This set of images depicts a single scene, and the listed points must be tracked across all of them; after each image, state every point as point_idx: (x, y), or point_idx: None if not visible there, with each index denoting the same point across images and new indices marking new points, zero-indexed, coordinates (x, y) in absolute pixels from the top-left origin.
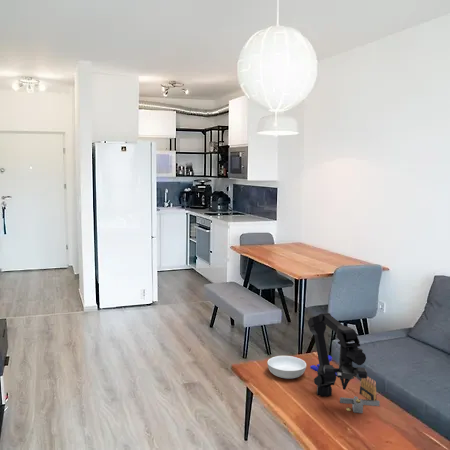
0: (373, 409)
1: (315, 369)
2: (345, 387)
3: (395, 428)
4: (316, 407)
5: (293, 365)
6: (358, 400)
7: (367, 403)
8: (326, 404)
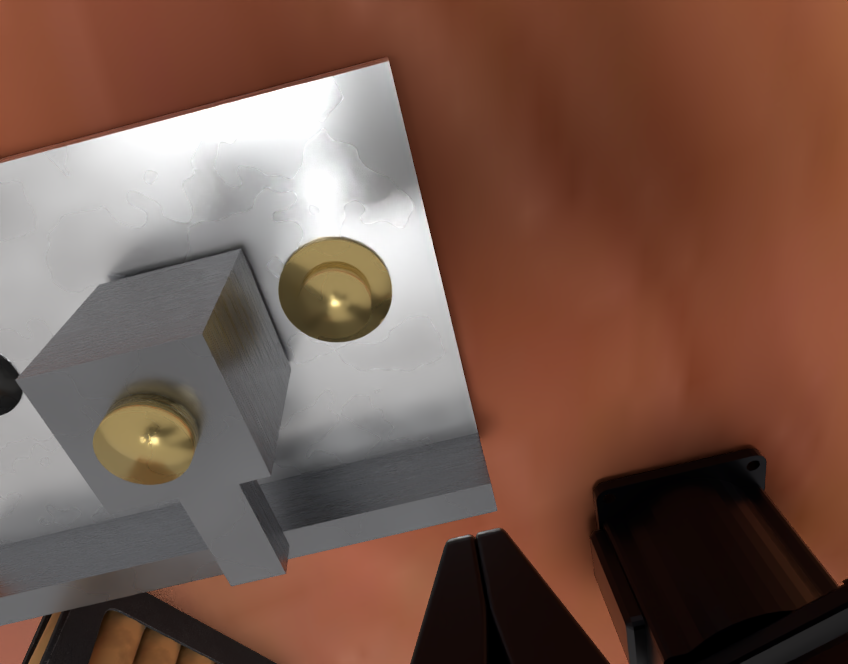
0: None
1: None
2: (445, 602)
3: None
4: (800, 231)
5: None
6: (128, 430)
7: (112, 542)
8: (649, 367)
